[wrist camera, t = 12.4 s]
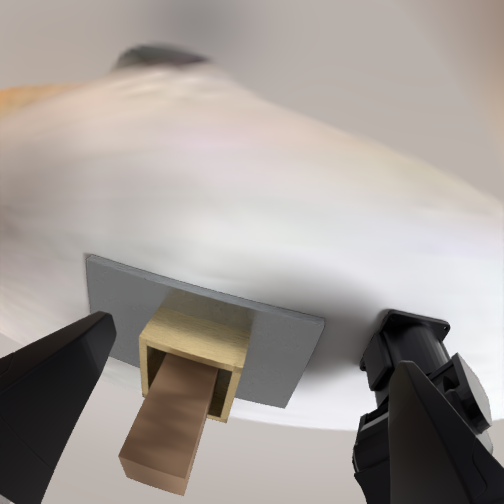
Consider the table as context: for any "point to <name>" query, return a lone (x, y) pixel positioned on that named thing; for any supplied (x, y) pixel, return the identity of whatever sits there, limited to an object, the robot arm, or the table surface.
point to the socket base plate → (204, 333)
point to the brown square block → (170, 425)
